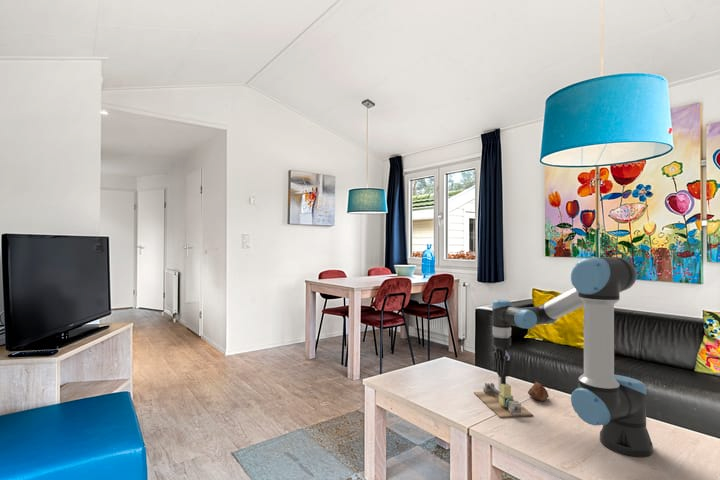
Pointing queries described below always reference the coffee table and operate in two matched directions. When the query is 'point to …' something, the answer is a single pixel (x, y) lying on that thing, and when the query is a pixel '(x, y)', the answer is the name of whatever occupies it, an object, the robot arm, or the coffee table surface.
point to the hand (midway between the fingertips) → (502, 391)
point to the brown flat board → (492, 401)
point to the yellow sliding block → (505, 394)
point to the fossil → (538, 392)
